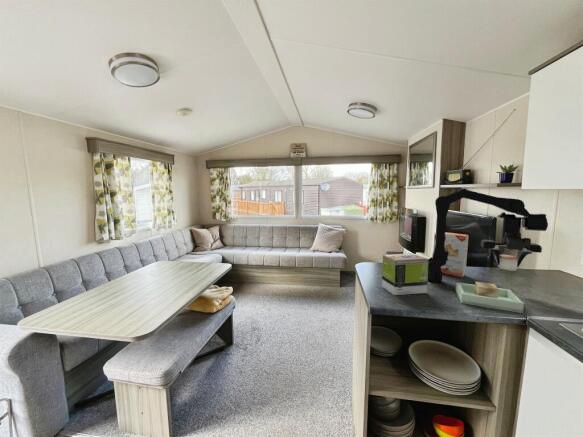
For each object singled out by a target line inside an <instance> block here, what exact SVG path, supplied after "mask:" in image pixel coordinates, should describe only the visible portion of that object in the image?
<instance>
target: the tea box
mask: <svg viewBox="0 0 583 437" xmlns="http://www.w3.org/2000/svg"><path fill="white" fill-rule="evenodd" d="M428 259H429V258H427V257H424V256H421V255H418V254H416V253H394V254H382V269H381V270H382V272H381V287H382V288H383V289H384V290H386V291H387V292H389V293H390V294H392V295H393V296H402V295H411V294H412V295H417V294H427V293H428V282H429V281H428Z"/></svg>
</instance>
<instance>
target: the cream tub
mask: <svg viewBox="0 0 583 437" xmlns="http://www.w3.org/2000/svg"><path fill="white" fill-rule="evenodd" d="M499 258H500V263H499V265H497V266H498V269H501V270H506V271H511V272H512V271H517V270H518V267H517V263H518V257H517V255H511V254H499Z"/></svg>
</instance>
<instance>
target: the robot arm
mask: <svg viewBox="0 0 583 437" xmlns="http://www.w3.org/2000/svg"><path fill="white" fill-rule="evenodd" d="M462 199H467V200H471V201H475V202H478V203H482V204H486V205H490V206H493V207H496V208H497V209H501V210H503V211H501V213H500V214H498V215H496V218H498V219H499V218H500V219H502V228H501V239H500V242H495V240H493V239H492V240H490V239H482V240H481V241H480V247H482V248H483V249H484V248H485V249H489V250H490V251H491V252H492V254H493V256H494V259H495V262H496V265H497V266H498V265H499V263H500V258H499V255H500V252H501V250H500V249H499V248H505V249H507V250H511V251H513V250H515V251H517V252H516V253H517V254H516V257H518V263H517V268H519V267H520V266H521V263H522V261H523V260H524V258H526V256H528V255H531V254H533V253H541V254H542V251H543V247H542V246H541V245H540V244H538V243H534V242H532V239H531V238H530V237H523V238H522V233H521V228H524V230H525V231H537V232H546V231H547V229H548V226H549V223H548V218H547V214H545V213H530V212H529V211H528V210H527V209H526V208H525V207H526V204H525V203H524V201H523V200H521V199H518V198H510V197H509V198H508V197H498V196H493V195H490V194H485V193H481V192H477V191H474V190H469V189H467V188H461V189H458V190H457V191H455V192H452V193H450V194H448V195H440V196H438V197H437V198H436V199H435V202H434V205H435V211H436V228H435V230H436V231H435V232H436V242H435V247H434V246H433V248H434V250H432V255H431V257H430V258H427V259H428V282H431V283H436V284H437V283H439V284H442V281H443V274H444V273H443V272H442V271H441V267H442V266H444V265H445V264H446V262H447V261H448V254H449V252H448V250H445V247H444V245H445V232H446V228H447V227H446V226H447V216H448V214H449V209H450V206H451V204H453V203H455V202H458V201H459V200H462ZM504 211H505V212H504ZM506 212H507V213H506ZM516 215H518V216H516Z"/></svg>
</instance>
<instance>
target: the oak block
mask: <svg viewBox="0 0 583 437" xmlns="http://www.w3.org/2000/svg"><path fill="white" fill-rule="evenodd" d="M474 285H475V292H474V294H475V295H479V296H485V297H492V298H498V291H499V289H498V288H499V287H497V285H496V284H495V283H488V282H482V281H475V283H474Z"/></svg>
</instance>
